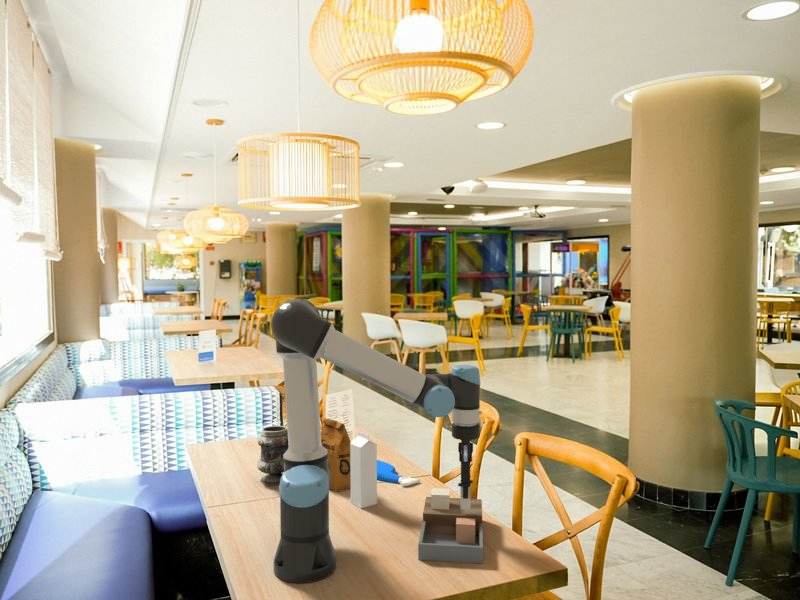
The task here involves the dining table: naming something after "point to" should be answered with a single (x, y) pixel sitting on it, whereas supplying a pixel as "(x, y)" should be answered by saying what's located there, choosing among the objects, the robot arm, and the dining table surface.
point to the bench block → (450, 516)
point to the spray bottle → (392, 474)
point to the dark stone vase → (272, 453)
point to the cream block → (440, 498)
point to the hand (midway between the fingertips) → (465, 508)
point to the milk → (363, 471)
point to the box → (449, 547)
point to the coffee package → (337, 453)
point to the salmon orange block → (465, 530)
